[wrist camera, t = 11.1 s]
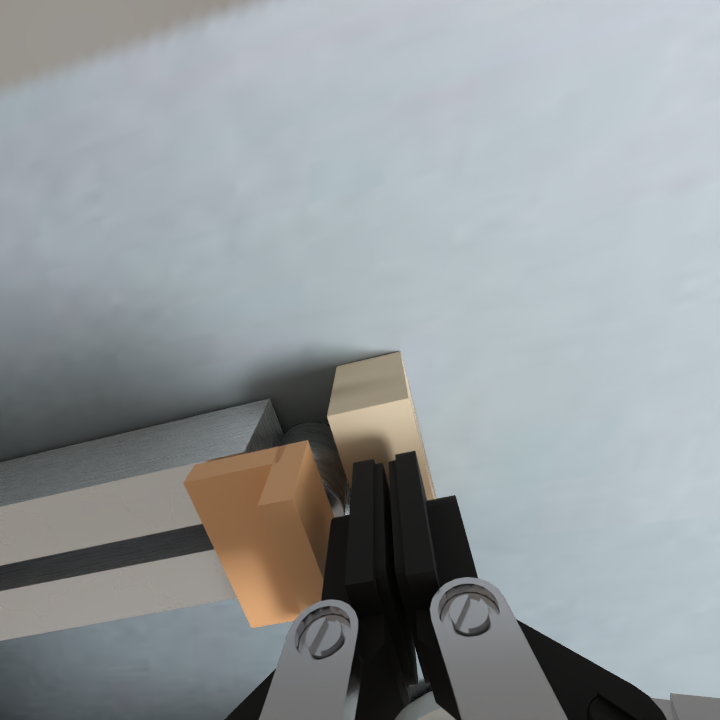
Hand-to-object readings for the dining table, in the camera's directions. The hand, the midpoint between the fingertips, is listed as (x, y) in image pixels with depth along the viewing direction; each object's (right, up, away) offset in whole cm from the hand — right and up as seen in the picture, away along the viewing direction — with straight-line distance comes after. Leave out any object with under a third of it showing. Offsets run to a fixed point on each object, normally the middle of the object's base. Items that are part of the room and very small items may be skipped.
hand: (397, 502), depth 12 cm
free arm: (-11, -1, +5) cm, 12 cm away
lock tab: (-3, -1, +1) cm, 4 cm away
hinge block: (0, +1, +4) cm, 4 cm away
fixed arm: (-12, -3, +6) cm, 14 cm away
